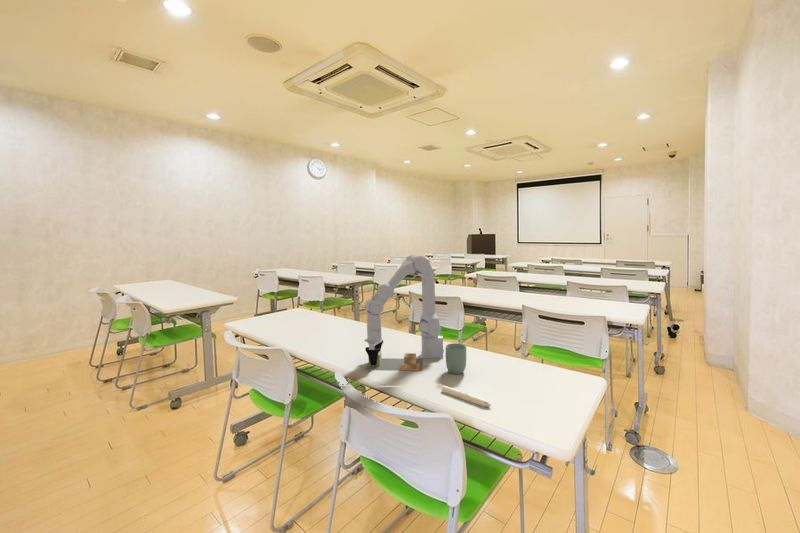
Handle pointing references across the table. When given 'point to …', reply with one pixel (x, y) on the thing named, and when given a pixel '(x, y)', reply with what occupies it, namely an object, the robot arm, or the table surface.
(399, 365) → the mat
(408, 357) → the maple block
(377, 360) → the sage block
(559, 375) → the table surface
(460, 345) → the cup
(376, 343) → the robot arm
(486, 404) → the marker
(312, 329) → the table surface
